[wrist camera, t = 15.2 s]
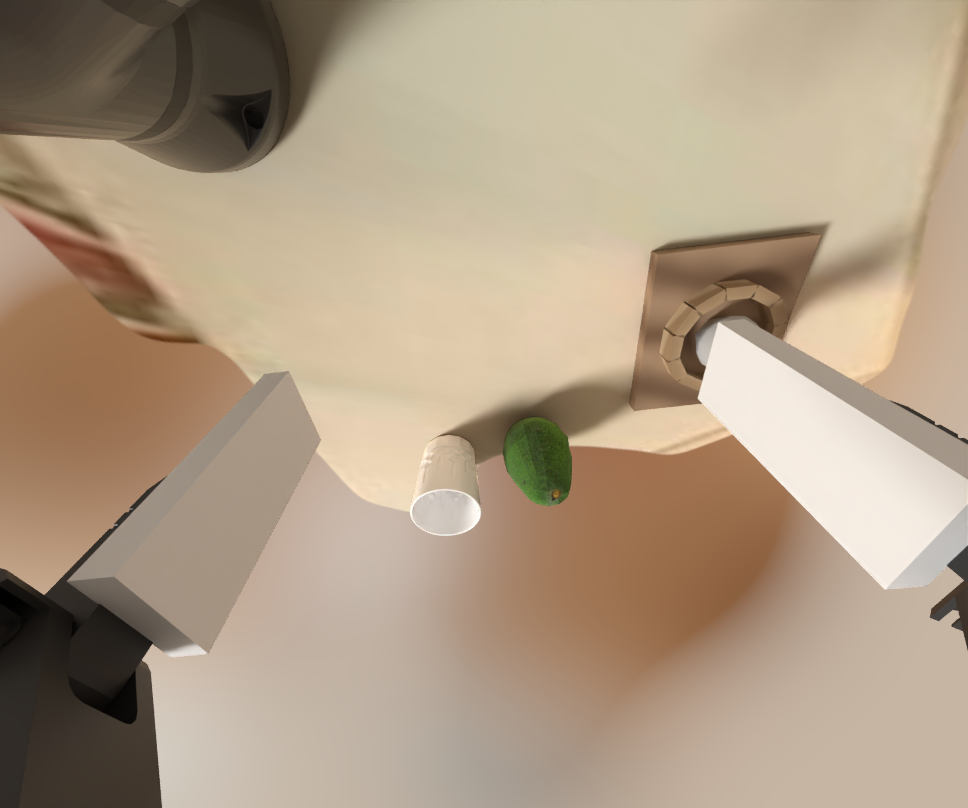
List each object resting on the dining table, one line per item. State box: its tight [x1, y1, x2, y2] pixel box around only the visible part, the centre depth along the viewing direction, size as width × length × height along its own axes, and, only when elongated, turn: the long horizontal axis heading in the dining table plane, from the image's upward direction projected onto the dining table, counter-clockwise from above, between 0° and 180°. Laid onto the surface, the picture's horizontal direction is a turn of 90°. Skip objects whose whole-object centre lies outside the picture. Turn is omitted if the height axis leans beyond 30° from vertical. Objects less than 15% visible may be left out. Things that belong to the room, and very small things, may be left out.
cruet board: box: [629, 232, 821, 411], centre depth 38 cm, size 18×15×4 cm
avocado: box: [503, 417, 572, 506], centre depth 41 cm, size 8×8×12 cm
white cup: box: [410, 435, 481, 536], centre depth 44 cm, size 8×8×10 cm
